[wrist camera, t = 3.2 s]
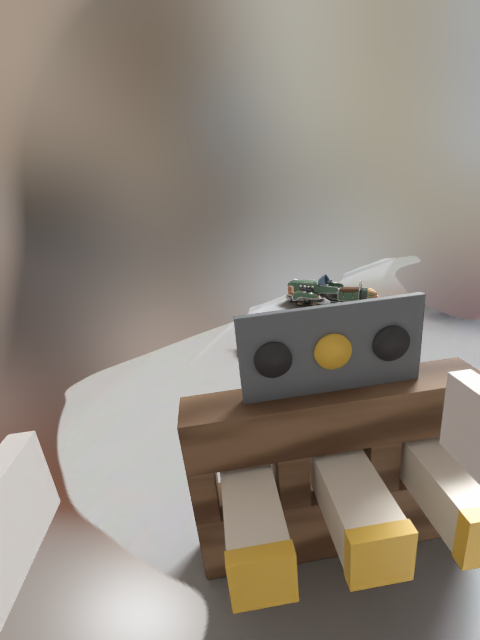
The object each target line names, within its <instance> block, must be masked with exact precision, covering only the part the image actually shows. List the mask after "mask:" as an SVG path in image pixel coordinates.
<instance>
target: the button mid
mask: <svg viewBox="0 0 480 640" xmlns="http://www.w3.org/2000/svg"><path fill="white" fill-rule="evenodd" d="M310 483H311V486H312V488H313V491H314V493H315V496H316V499H317V501H318V504H319V507H320V509H321V512H322V514H323V517H324V520H325V522H326V525H327V527H328V530H329V533H330V535H331V538H332V541H333V543H334V546H335V548H336V551H337V554H338V556H339V559H340V561H341V564H342V567H343V569H344V577H345V580H346V582H347V585H348V588H349V590H350V592H353V591H358V590H364V589H369V588H374V587H380V586H385V585H390V584H396V583H401V582H406V581H412V580H414V571H415V561H416V552H417V543H418V531H417V530H416V528H415V527H414V525H413V524H412V522H411V520H410V519H407V518H406V517H405V515H404V514H403V512H402V510H401V509H400V507H399V506H398V504H397V503H396V501H395V499H394V498H393V496H392V495H391V493H390V492H389V490H388V488H387V487H386V485H385V484H384V482H383V481H382V479H381V477H380V476H379V474H378V473H377V471H376V470H375V468H374V466H373V465H372V463H371V462H370V460H369V459H368V457H367V455H366V454H365V452H364V451H363V449H360V450H354V451H348V452H341V453H335V454H329V455H323V456H316V457H310Z"/></svg>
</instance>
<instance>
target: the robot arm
mask: <svg viewBox="0 0 480 640" xmlns="http://www.w3.org/2000/svg"><path fill="white" fill-rule="evenodd" d="M439 443H440V444H441V445H442V446H443V447H444V448H445V450H446V451H447V452H448V453H449V454H450V455H451V456H452V457H453V458H454V459H455V460H456V461H457V462H458V463H459V464H460V465H461V466H462V467H463V468H464V469H465V471H466V472H467V473H468V474H469V475H470V476H471V477H472V478H473V479H474V480H475V481H476V482H477V483H478V484H479V485H480V375H479V374H478V373H476V372H475V371H473V370H472V369H466V370H459V371H452V372H448V374H447V383H446V391H445V399H444V407H443V416H442V424H441V432H440V440H439ZM59 504H60V499H59V496H58V493H57V491H56V488H55V485H54V482H53V479H52V477H51V474H50V471H49V469H48V466H47V463H46V460H45V457H44V455H43V452H42V449H41V447H40V444H39V441H38V438H37V436H36V433H35V431H30V432H23V433H16V434H9V435H7V437H6V438H5V439H4V440H3V441H2V443H1V444H0V632H1V630H2V628H3V625H4V623H5V621H6V619H7V617H8V614H9V612H10V610H11V608H12V606H13V604H14V602H15V599H16V597H17V595H18V593H19V591H20V589H21V586H22V584H23V582H24V580H25V578H26V576H27V573H28V571H29V569H30V567H31V565H32V562H33V560H34V558H35V556H36V554H37V552H38V549H39V547H40V545H41V543H42V541H43V539H44V536H45V534H46V532H47V530H48V528H49V526H50V523H51V521H52V519H53V517H54V515H55V512H56V510H57V508H58V506H59Z"/></svg>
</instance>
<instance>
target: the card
mask: <svg viewBox="0 0 480 640" xmlns="http://www.w3.org/2000/svg"><path fill="white" fill-rule="evenodd" d="M425 296H426V294H424V293H422V292H417V293H409V294H401V295H393V296H386V297H378V298H370V299H363V300H355V301H348V302H340V303H332V304H325V305H317V306H310V307H302V308H294V309H287V310H279V311H271V312H264V313H256V314H249V315H241V316H234V325H235V334H236V343H237V352H238V361H239V369H240V378H241V387H242V396H243V403H244V404H251V403H257V402H264V401H271V400H277V399H284V398H291V397H298V396H304V395H311V394H318V393H325V392H331V391H338V390H345V389H352V388H358V387H365V386H372V385H379V384H385V383H392V382H399V381H406V380H412V379H418V377H419V365H420V354H421V342H422V331H423V320H424V308H425Z"/></svg>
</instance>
